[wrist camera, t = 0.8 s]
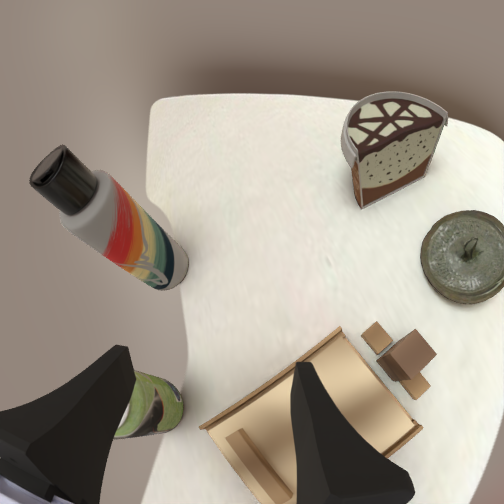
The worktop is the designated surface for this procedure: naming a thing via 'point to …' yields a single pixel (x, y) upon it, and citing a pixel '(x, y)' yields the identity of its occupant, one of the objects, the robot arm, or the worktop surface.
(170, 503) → the worktop surface
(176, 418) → the beverage can
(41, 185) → the lotion bottle
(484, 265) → the grey small piece
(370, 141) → the food container
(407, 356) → the walnut key
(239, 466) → the sliding lid
